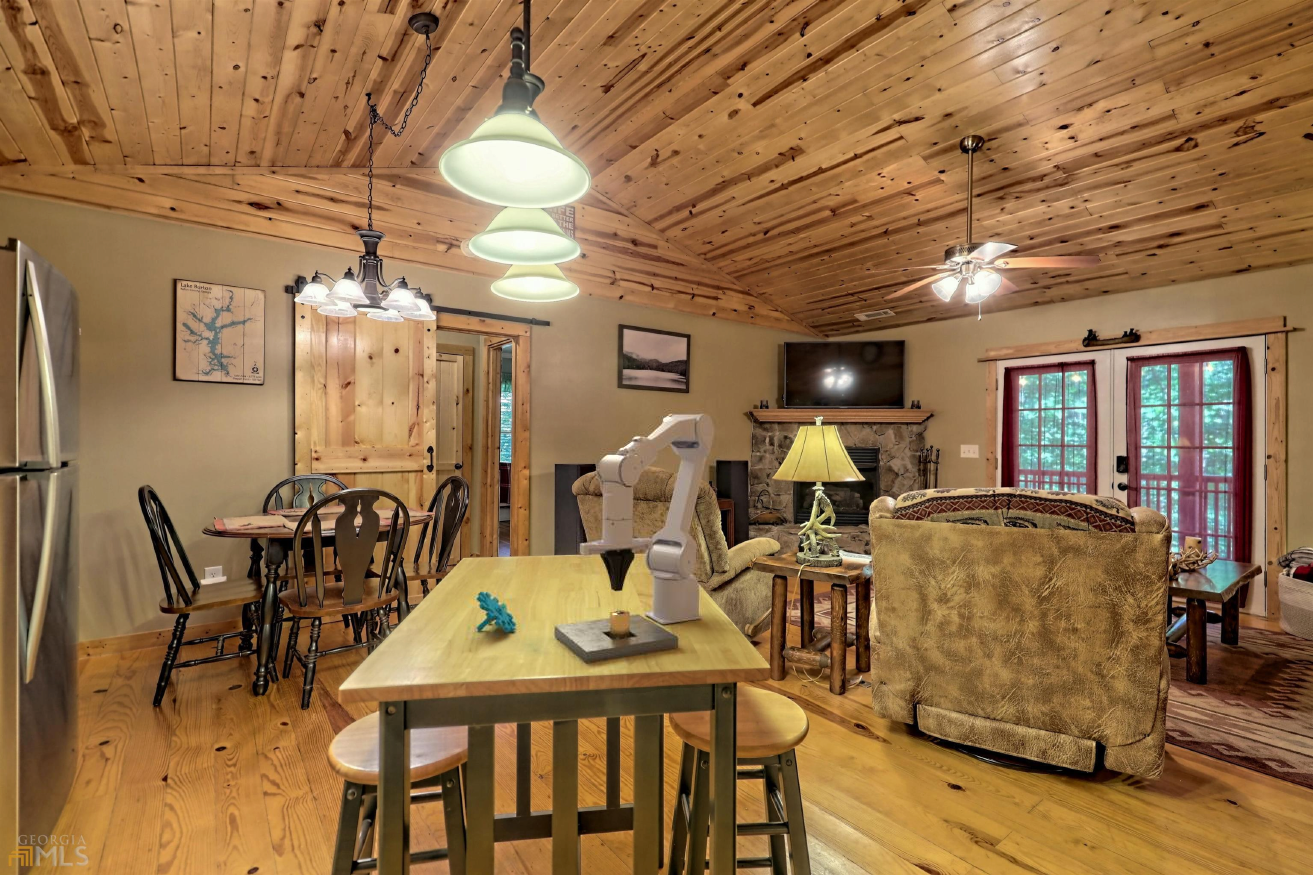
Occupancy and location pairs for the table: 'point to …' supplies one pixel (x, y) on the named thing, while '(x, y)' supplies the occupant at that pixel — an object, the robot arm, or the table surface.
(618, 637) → the bushing
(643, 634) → the plate
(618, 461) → the robot arm
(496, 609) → the gear
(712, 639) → the table surface
